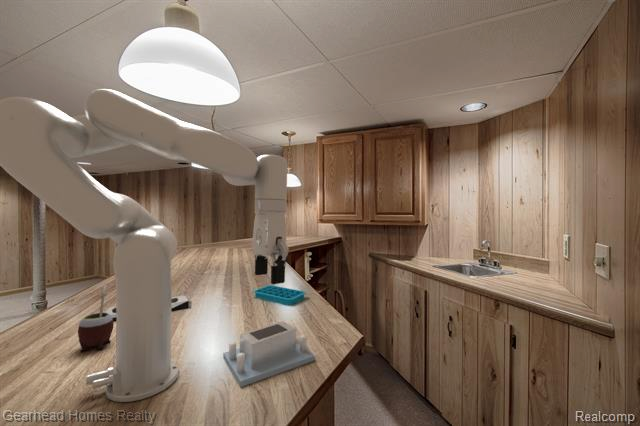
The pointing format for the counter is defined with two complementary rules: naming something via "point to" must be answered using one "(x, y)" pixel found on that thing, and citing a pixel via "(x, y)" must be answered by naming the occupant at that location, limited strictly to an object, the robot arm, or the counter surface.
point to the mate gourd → (95, 329)
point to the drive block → (267, 343)
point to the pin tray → (287, 362)
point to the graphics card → (176, 304)
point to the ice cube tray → (279, 294)
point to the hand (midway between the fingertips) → (268, 278)
